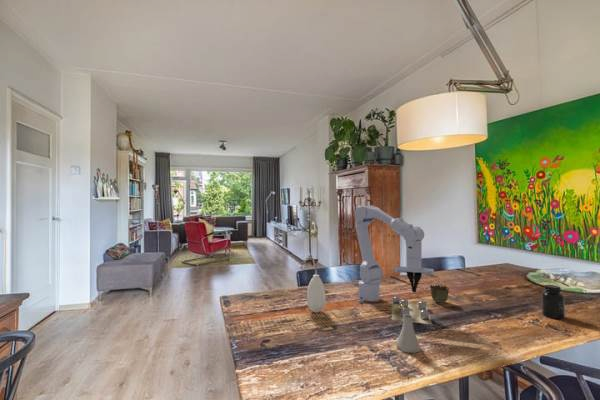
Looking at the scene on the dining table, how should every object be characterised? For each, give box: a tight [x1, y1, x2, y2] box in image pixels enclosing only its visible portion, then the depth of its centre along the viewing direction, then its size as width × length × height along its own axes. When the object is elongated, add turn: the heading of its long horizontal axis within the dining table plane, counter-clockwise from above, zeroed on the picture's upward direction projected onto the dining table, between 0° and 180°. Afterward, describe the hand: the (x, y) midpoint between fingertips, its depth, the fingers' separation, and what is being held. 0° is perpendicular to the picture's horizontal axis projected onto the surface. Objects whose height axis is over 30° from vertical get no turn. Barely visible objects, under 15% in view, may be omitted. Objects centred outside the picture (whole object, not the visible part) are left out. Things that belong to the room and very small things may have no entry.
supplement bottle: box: [541, 284, 566, 320], centre depth 113 cm, size 7×7×12 cm
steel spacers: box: [392, 295, 430, 320], centre depth 116 cm, size 13×16×3 cm
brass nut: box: [394, 304, 404, 313], centre depth 116 cm, size 4×4×2 cm
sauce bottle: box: [306, 269, 327, 314], centre depth 119 cm, size 8×8×18 cm
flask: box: [396, 314, 422, 354], centre depth 90 cm, size 7×7×10 cm
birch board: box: [391, 302, 433, 325], centre depth 115 cm, size 14×19×1 cm
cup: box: [429, 284, 450, 305], centre depth 126 cm, size 8×7×8 cm
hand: (413, 291), depth 114 cm, fingers closed
